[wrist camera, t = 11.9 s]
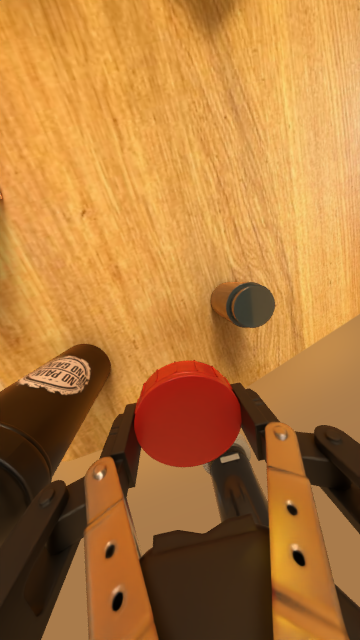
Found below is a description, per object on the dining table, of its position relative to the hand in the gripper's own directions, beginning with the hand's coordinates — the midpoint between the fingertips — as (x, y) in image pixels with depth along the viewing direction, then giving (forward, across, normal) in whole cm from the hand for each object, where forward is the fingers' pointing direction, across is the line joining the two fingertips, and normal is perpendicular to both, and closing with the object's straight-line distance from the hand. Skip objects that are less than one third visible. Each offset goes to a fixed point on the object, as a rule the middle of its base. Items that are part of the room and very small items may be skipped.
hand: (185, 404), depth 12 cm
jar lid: (-1, 0, 0) cm, 1 cm away
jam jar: (+19, -10, -4) cm, 22 cm away
